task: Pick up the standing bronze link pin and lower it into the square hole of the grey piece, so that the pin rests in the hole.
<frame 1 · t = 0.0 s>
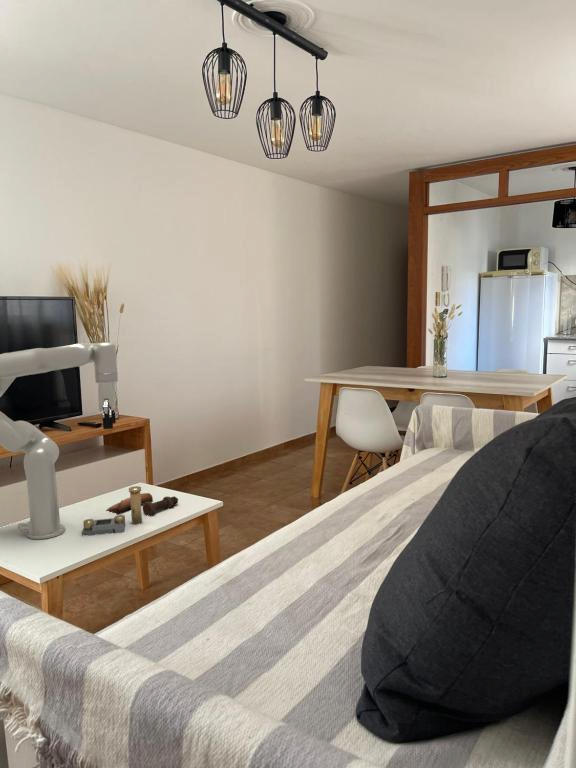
hand: (109, 426, 206), 37 cm above the table, tool pointing down, fingers open, 9 cm apart
link pin: (137, 522, 214), on the table
grey piece: (104, 530, 207), on the table
sunglasses case: (129, 507, 233), on the table
bolt: (162, 510, 228), on the table
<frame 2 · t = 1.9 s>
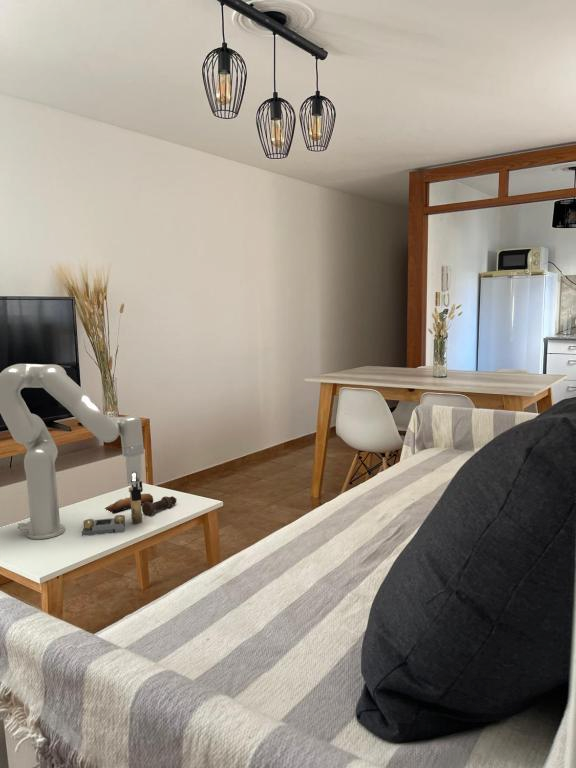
hand: (137, 496, 213), 10 cm above the table, tool pointing down, fingers open, 9 cm apart
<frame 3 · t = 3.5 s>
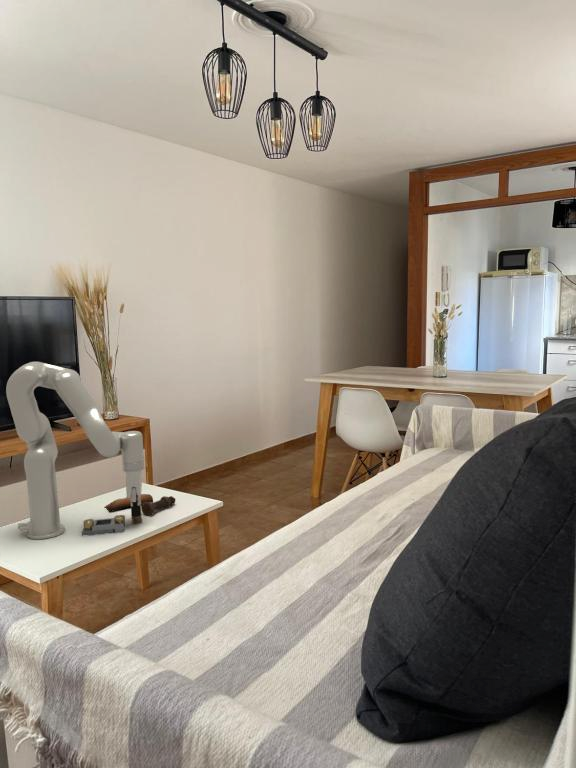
hand: (136, 513, 214), 3 cm above the table, tool pointing down, fingers closed on link pin, 3 cm apart
link pin: (137, 522, 214), on the table, touching gripper
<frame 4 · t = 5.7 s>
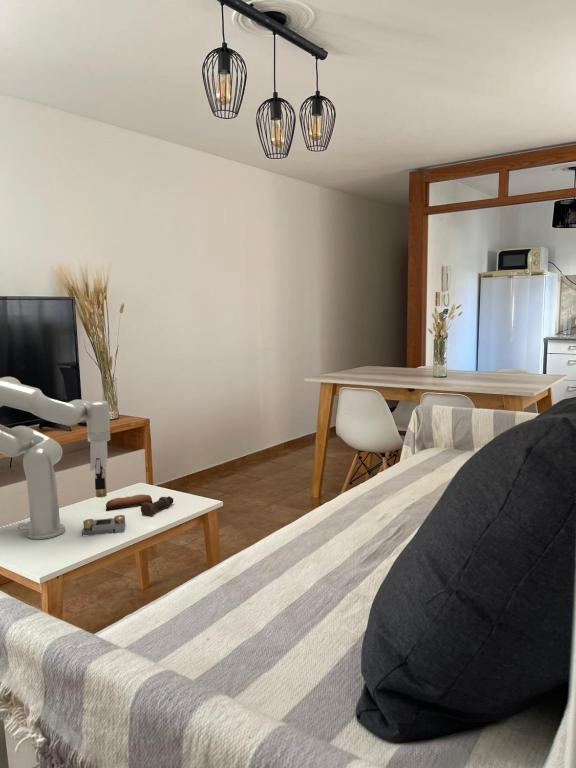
hand: (100, 486, 206), 16 cm above the table, tool pointing down, fingers closed on link pin, 3 cm apart
link pin: (101, 495, 206), point 13 cm above the table, touching gripper
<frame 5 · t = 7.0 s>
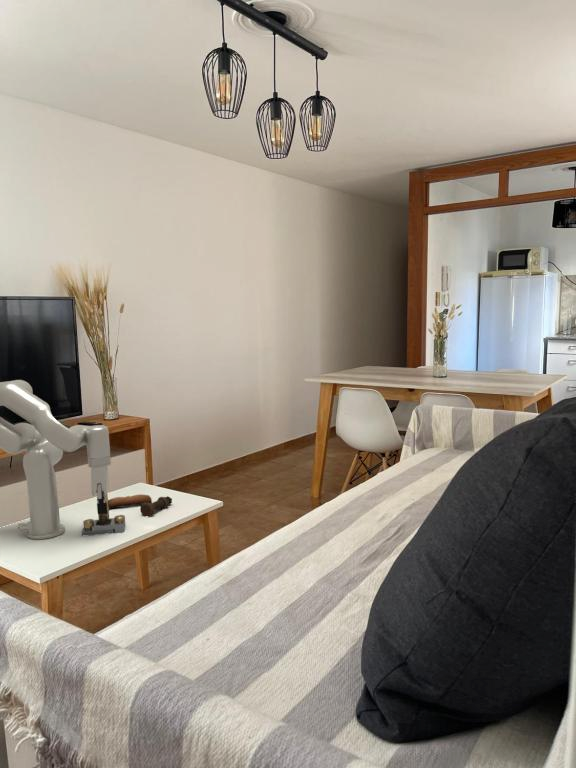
hand: (103, 511, 206), 7 cm above the table, tool pointing down, fingers closed on link pin, 3 cm apart
link pin: (104, 520, 207), point 4 cm above the table, touching gripper
when the fingers open (4 cm above the table, at t = 8.2 s): link pin stays where it is, resting in grey piece.
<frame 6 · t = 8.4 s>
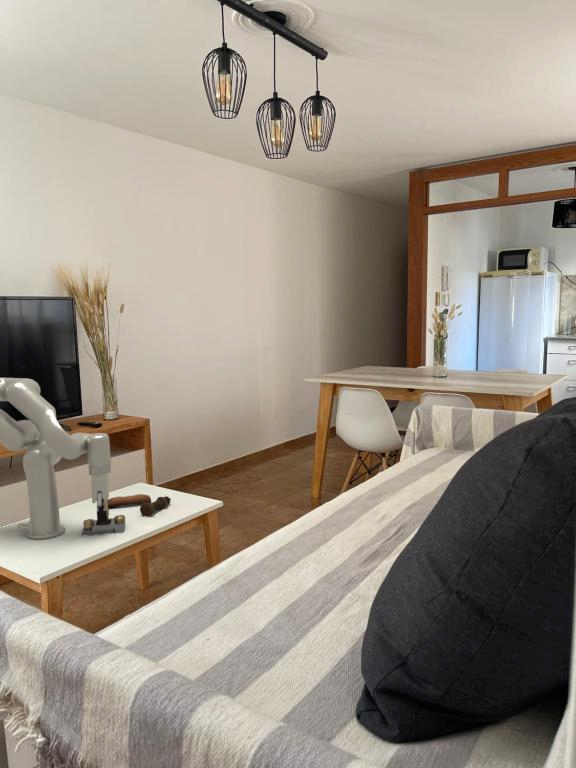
hand: (103, 518, 207), 4 cm above the table, tool pointing down, fingers open, 5 cm apart
link pin: (104, 530, 207), resting in grey piece
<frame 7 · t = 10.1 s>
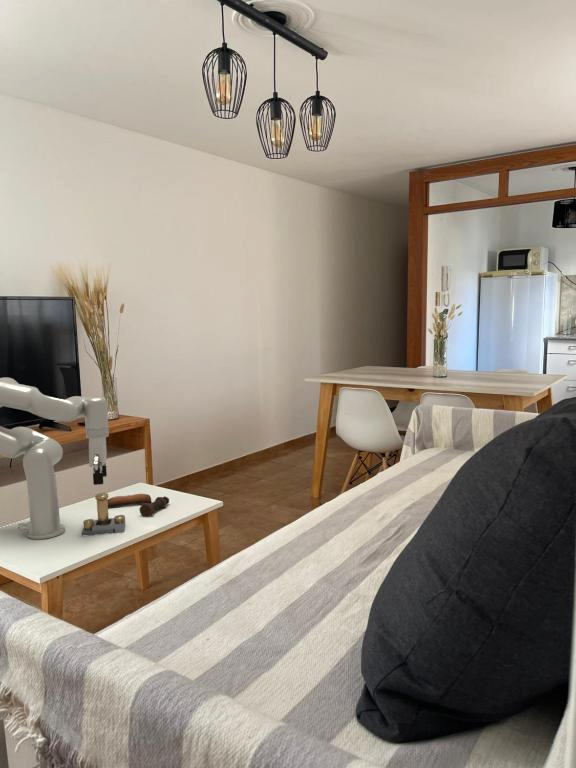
hand: (100, 480, 205), 18 cm above the table, tool pointing down, fingers open, 9 cm apart
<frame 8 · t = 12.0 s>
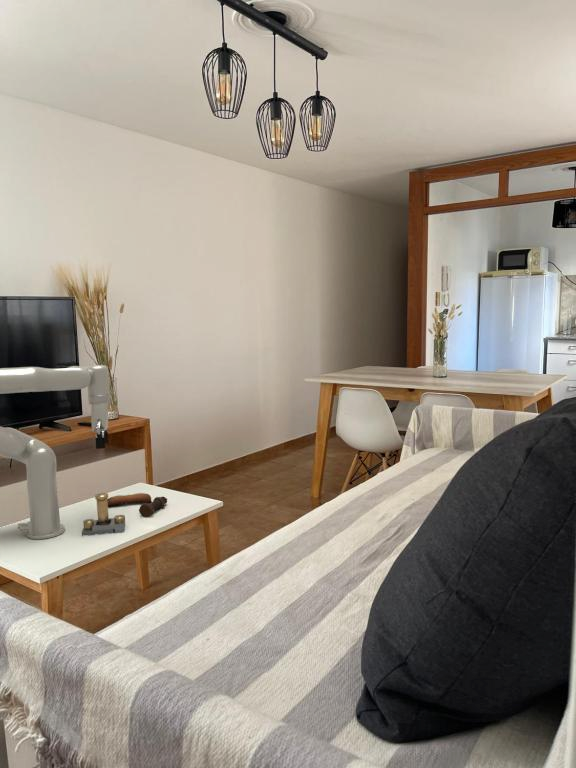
hand: (102, 445, 215), 28 cm above the table, tool pointing down, fingers open, 9 cm apart
at the end: link pin 0.1 cm off-centre on the grey piece, point 0.0 cm above the grey piece's base; link pin tilted 0°; the gripper is holding nothing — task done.
